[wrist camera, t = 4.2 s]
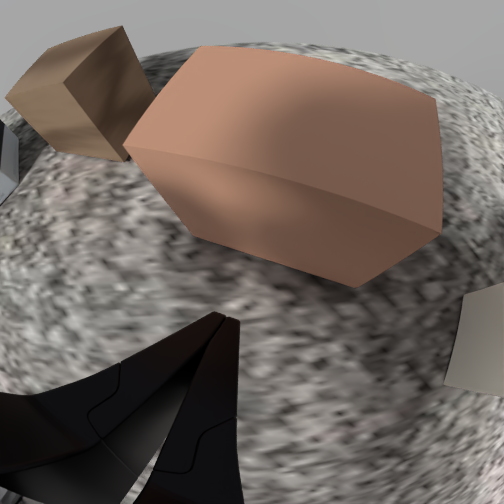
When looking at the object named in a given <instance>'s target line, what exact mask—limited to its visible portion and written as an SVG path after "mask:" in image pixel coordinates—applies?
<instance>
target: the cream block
mask: <svg viewBox="0 0 504 504" xmlns="http://www.w3.org/2000/svg"><path fill="white" fill-rule="evenodd" d="M443 385H446V386H450V387H454V388H459V389H463V390H468V391H472V392H477V393H482V394H488V395H493V396H498V397H504V282H502V283H499V284H496V285H493V286H490V287H487V288H484V289H481V290H478V291H474V292H471V293H468V294H464V297H463V304H462V310H461V316H460V321H459V326H458V331H457V336H456V340H455V344H454V349H453V353H452V356H451V360H450V364H449V367H448V371H447V374H446V377H445V381H444V384H443Z"/></svg>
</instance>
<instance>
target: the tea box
mask: <svg viewBox="0 0 504 504" xmlns="http://www.w3.org/2000/svg"><path fill="white" fill-rule="evenodd" d="M18 185H19V139H18V137H17V136H16V135H15V134H14V133H13V132H12V131H11V130H10V129H9V128H8V127H7V126H6V125H5V124H4V123H3V122H2V121H1V120H0V205H1V203H2V202H3V201H4V200H5V199H6V198H7V197H8V196H9V195H10V194H11V193H12V192H13V191H14V189H15V188H16V187H17V186H18Z"/></svg>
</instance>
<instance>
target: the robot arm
mask: <svg viewBox="0 0 504 504" xmlns="http://www.w3.org/2000/svg"><path fill="white" fill-rule="evenodd" d="M239 342H240V321H239V320H237V319H234V318H232V317H226V315H224V314H221V313H218V312H215V311H214V312H211V313H210V314H208V315H206V316H204V317H202V318H201V319H199V320H197V321H195V322H193V323H192V324H190V325H188V326H186V327H184V328H183V329H181V330H179V331H177V332H175V333H173V334H172V335H170V336H168V337H166V338H164V339H162V340H161V341H159V342H157V343H155V344H153V345H151V346H149V347H147V348H146V349H144V350H142V351H140V352H138V353H136V354H134V355H132V356H130V357H128V358H126V359H125V360H123V361H121V364H120V363H117V364H115V365H113V366H111V367H109V368H107V369H105V370H102V371H100V372H98V373H96V374H94V375H91V376H89V377H86V378H84V379H81V380H78V381H76V382H73V383H70V384H67V385H64V386H61V387H58V388H55V389H52V390H49V391H46V392H42V393H39V394H33V395H17V394H10V393H4V392H0V504H120V503H121V501H122V500H123V499H124V497H125V496H126V494H127V493H128V492H129V490H130V489H131V487H132V486H133V485H134V483H135V482H136V480H137V479H138V477H139V476H140V474H141V473H142V472H143V470H144V469H145V467H146V466H147V464H148V463H149V462H150V460H151V459H152V457H153V456H154V454H155V453H156V451H157V450H158V448H159V447H160V445H161V444H162V443H163V441H164V440H165V438H166V437H167V438H166V440H165V442H164V445H163V447H162V449H161V451H160V454H159V456H158V458H157V461H156V463H155V465H154V468H153V471H152V472H151V475H150V477H149V479H148V481H147V483H146V484H145V486H144V488H143V490H142V491H141V493H140V494H139V495H138V497H137V498H136V500H135V501H134V502H133V504H244V498H243V491H242V485H241V478H240V472H239V464H238V454H237V418H236V417H237V399H238V369H239Z"/></svg>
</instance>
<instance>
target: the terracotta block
mask: <svg viewBox="0 0 504 504" xmlns="http://www.w3.org/2000/svg"><path fill="white" fill-rule="evenodd" d="M123 147H124V148H125V149H126V151H127V152H128V153H129V154H130V156H131V157H132V158H133V160H134V161H135V162H136V164H137V165H138V166H139V168H140V169H141V170H142V172H143V173H144V174H145V175H146V177H147V178H148V179H149V181H150V182H151V183H152V184H153V186H154V187H155V188H156V190H157V191H158V192H159V193H160V195H161V196H162V197H163V199H164V200H165V201H166V202H167V204H168V205H169V206H170V207H171V209H172V210H173V211H174V212H175V214H176V215H177V216H178V217H179V219H180V220H181V221H182V222H183V224H184V225H185V226H186V227H187V228H188V230H189V231H190V232H191V233H192V235H193V236H195V237H198V238H201V239H204V240H207V241H210V242H214V243H217V244H220V245H223V246H226V247H229V248H232V249H235V250H238V251H241V252H244V253H248V254H251V255H254V256H257V257H260V258H263V259H266V260H269V261H272V262H276V263H279V264H282V265H285V266H288V267H291V268H294V269H297V270H300V271H304V272H307V273H310V274H313V275H316V276H319V277H322V278H325V279H329V280H332V281H335V282H338V283H341V284H344V285H347V286H351V287H354V288H358V287H359V286H361V285H363V284H364V283H366V282H368V281H369V280H371V279H373V278H374V277H376V276H378V275H379V274H381V273H383V272H384V271H386V270H387V269H389V268H391V267H392V266H394V265H395V264H397V263H398V262H400V261H402V260H403V259H405V258H406V257H408V256H409V255H411V254H412V253H414V252H415V251H417V250H418V249H420V248H421V247H423V246H424V245H426V244H427V243H429V242H430V241H431V240H433V239H434V238H436V237H437V236H439V235H440V234H441V233H442V217H443V167H442V150H441V138H440V129H439V120H438V113H437V107H436V100H435V99H434V98H432V97H430V96H428V95H426V94H424V93H421V92H419V91H417V90H415V89H412V88H410V87H407V86H405V85H402V84H400V83H397V82H395V81H392V80H389V79H387V78H384V77H381V76H378V75H375V74H372V73H369V72H366V71H363V70H359V69H356V68H352V67H349V66H345V65H342V64H338V63H334V62H330V61H325V60H321V59H317V58H312V57H307V56H302V55H296V54H290V53H284V52H277V51H270V50H262V49H252V48H241V47H224V46H200V47H199V48H198V49H197V50H196V51H195V52H194V53H193V54H192V55H191V57H190V58H189V59H188V60H187V61H186V62H185V63H184V64H183V65H182V67H181V68H180V69H179V70H178V71H177V72H176V73H175V75H174V76H173V77H172V78H171V79H170V81H169V82H168V83H167V84H166V85H165V87H164V88H163V89H162V90H161V92H160V93H159V94H158V96H157V97H156V98H155V99H154V101H153V102H152V103H151V105H150V106H149V107H148V109H147V110H146V111H145V113H144V114H143V116H142V117H141V118H140V120H139V121H138V123H137V124H136V126H135V127H134V128H133V130H132V131H131V133H130V134H129V136H128V137H127V139H126V140H125V142H124V144H123Z"/></svg>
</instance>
